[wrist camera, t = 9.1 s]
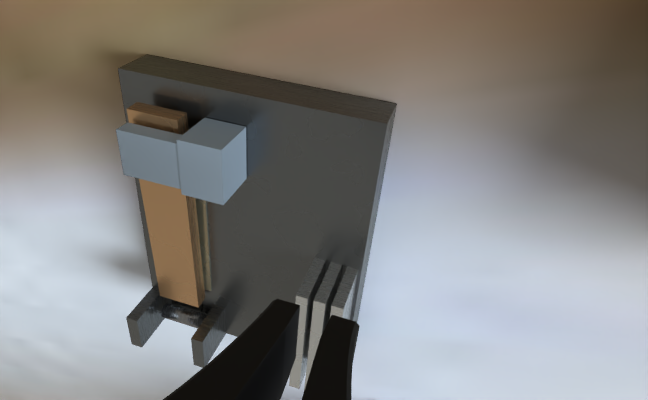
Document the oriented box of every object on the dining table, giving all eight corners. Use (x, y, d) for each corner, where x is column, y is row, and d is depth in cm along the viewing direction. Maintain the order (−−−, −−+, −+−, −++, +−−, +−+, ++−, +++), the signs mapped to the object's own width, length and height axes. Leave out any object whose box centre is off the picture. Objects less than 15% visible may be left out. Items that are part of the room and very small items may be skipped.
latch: (246, 178, 20) (223, 204, 19) (153, 156, 21) (123, 179, 19) (246, 126, 19) (221, 150, 17) (146, 104, 20) (114, 125, 18)
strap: (209, 321, 26) (202, 332, 26) (170, 309, 27) (162, 320, 26) (189, 112, 19) (178, 121, 18) (135, 100, 19) (123, 108, 19)
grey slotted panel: (353, 341, 27) (330, 412, 23) (175, 287, 29) (128, 344, 25) (396, 103, 19) (372, 155, 15) (147, 54, 21) (73, 89, 17)
